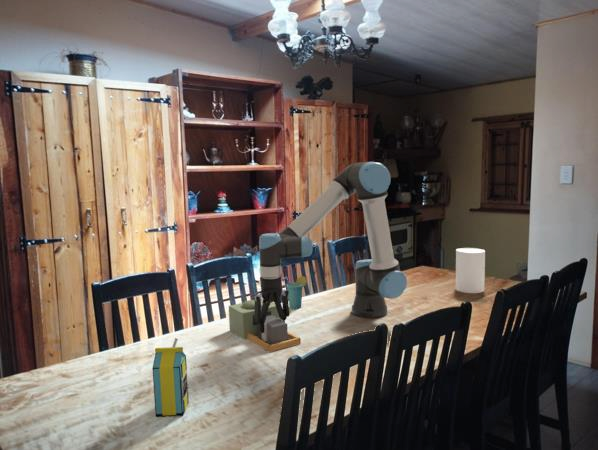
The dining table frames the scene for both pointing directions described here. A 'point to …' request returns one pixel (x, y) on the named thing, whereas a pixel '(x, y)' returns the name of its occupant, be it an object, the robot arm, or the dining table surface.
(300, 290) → the cup
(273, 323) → the grey concrete block
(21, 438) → the dining table surface
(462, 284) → the canister
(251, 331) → the green box with frame
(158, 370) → the carton
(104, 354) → the dining table surface
